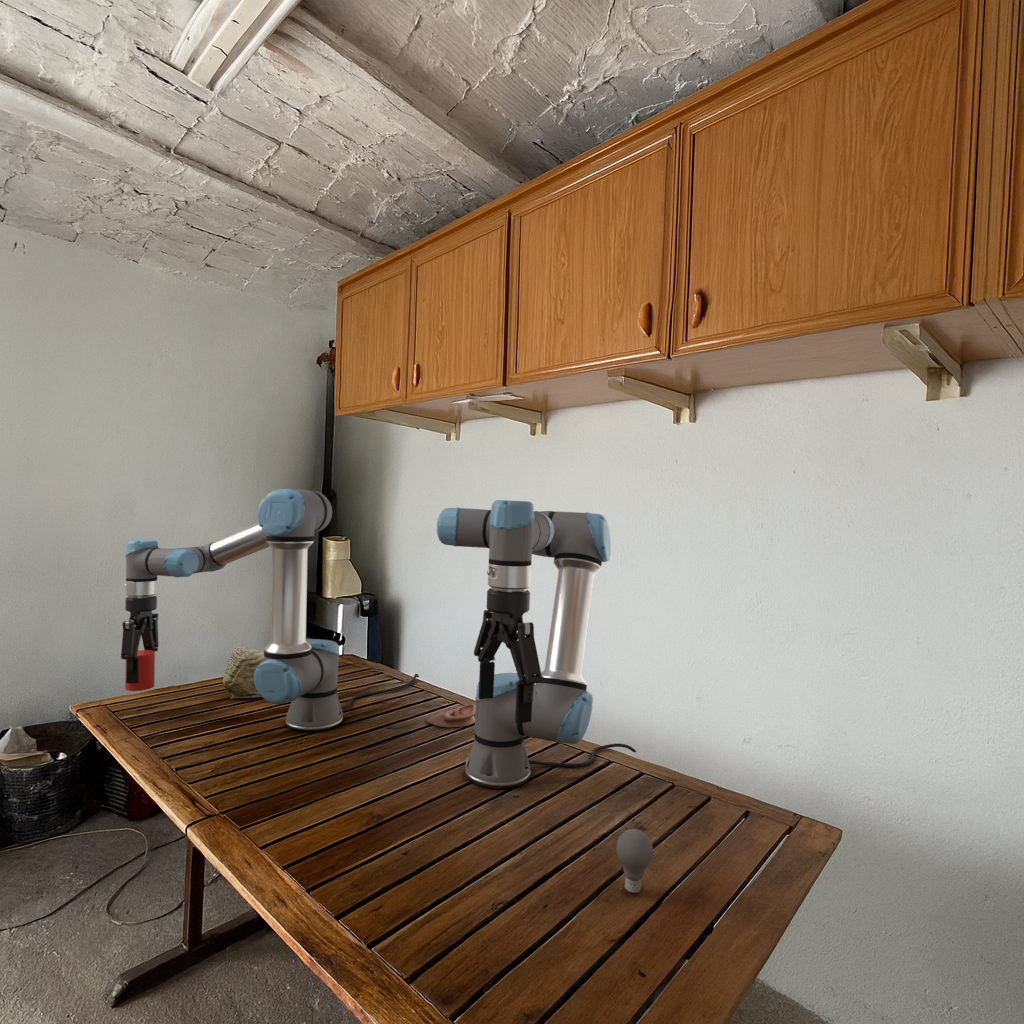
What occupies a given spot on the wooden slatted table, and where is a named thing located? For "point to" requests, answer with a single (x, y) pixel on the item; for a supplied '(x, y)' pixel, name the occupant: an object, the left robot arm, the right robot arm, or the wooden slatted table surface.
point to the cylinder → (143, 671)
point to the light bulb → (634, 857)
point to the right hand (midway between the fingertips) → (503, 709)
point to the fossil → (242, 672)
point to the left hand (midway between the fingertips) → (140, 678)
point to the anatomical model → (455, 717)
